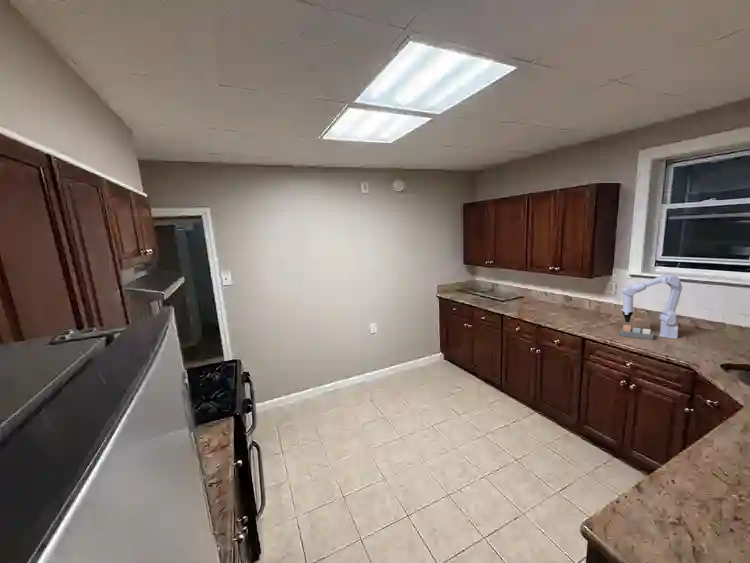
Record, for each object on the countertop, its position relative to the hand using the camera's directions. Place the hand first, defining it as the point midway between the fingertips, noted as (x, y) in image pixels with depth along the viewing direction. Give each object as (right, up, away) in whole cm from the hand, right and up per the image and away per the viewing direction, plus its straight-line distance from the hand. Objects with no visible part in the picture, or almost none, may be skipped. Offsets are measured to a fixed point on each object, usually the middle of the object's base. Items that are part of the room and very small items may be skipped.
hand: (627, 322), depth 238 cm
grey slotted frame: (+5, -10, -2) cm, 11 cm away
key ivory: (+9, -8, -6) cm, 14 cm away
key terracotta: (0, -6, +1) cm, 6 cm away
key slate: (+5, -8, -3) cm, 10 cm away
